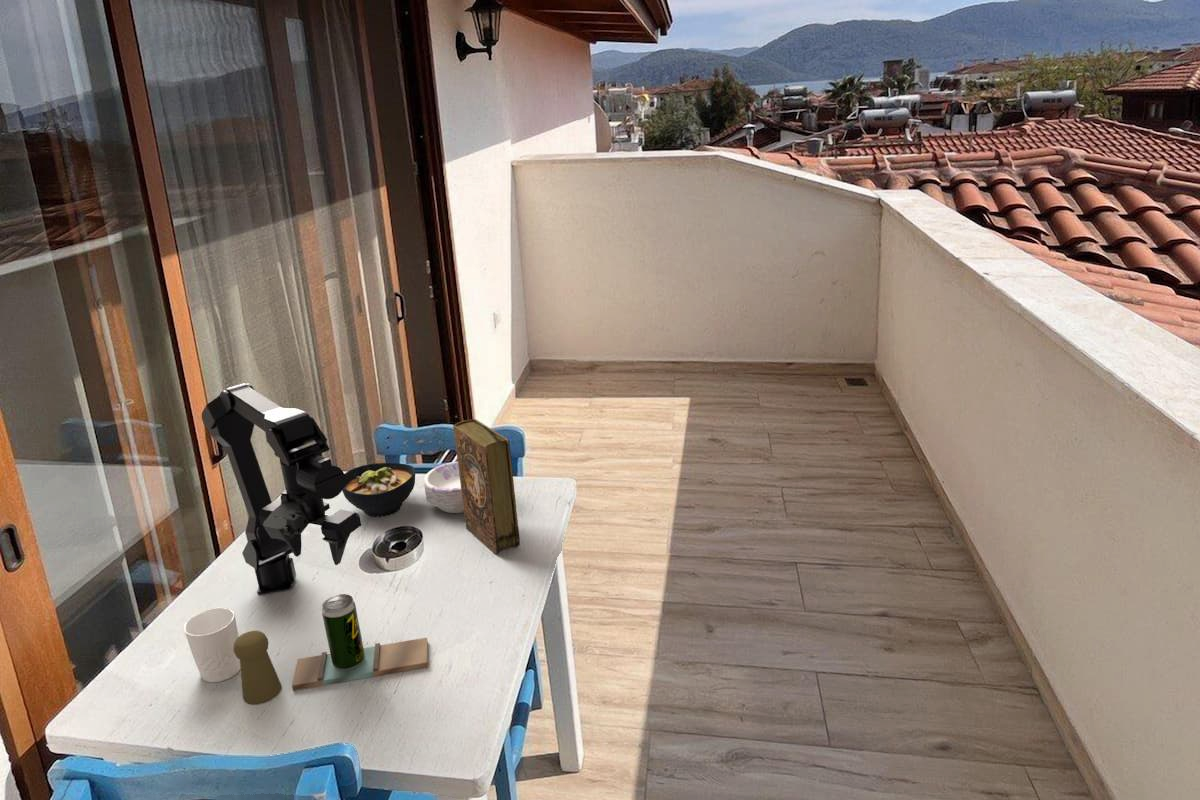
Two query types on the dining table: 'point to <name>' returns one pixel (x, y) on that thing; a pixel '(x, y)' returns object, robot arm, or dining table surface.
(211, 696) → the dining table surface
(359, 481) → the bowl
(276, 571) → the robot arm
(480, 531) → the book
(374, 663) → the board
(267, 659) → the cork
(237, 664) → the white cup
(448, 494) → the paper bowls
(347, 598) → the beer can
